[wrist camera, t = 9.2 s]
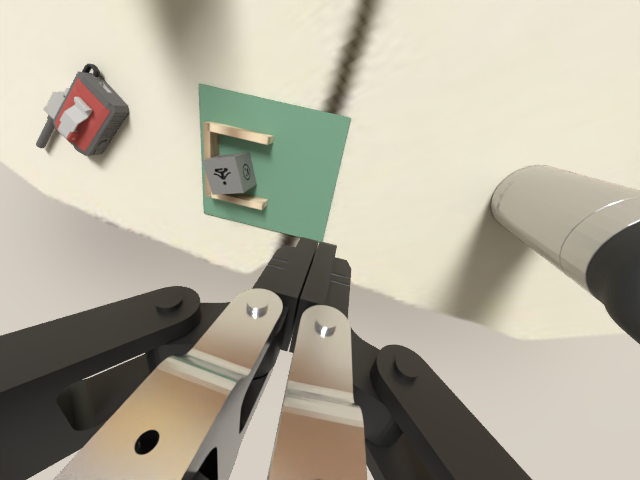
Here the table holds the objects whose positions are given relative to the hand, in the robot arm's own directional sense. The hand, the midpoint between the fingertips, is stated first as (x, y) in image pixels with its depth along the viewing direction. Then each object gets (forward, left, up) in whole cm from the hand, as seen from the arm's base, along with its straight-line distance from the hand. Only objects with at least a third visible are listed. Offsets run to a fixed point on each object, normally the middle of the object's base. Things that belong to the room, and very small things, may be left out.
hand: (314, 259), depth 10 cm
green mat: (+12, +5, -29) cm, 32 cm away
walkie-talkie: (+44, +4, -30) cm, 53 cm away
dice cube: (+17, +6, -29) cm, 34 cm away
